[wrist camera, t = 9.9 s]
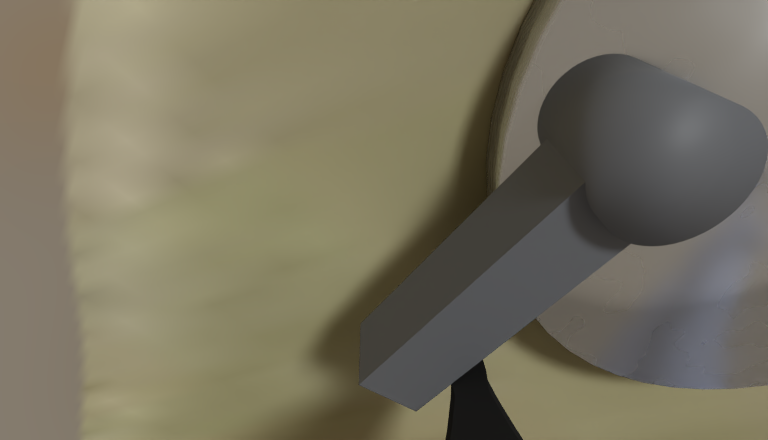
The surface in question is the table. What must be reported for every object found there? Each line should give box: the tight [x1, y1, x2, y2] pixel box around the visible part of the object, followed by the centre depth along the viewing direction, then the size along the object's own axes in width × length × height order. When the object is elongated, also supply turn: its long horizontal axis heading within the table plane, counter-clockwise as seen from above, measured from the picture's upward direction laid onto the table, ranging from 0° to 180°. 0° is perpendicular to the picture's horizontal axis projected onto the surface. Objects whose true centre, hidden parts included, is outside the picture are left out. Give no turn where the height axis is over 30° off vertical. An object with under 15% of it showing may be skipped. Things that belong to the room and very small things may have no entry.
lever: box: [359, 54, 768, 411], centre depth 9 cm, size 8×2×3 cm, turn 143°
